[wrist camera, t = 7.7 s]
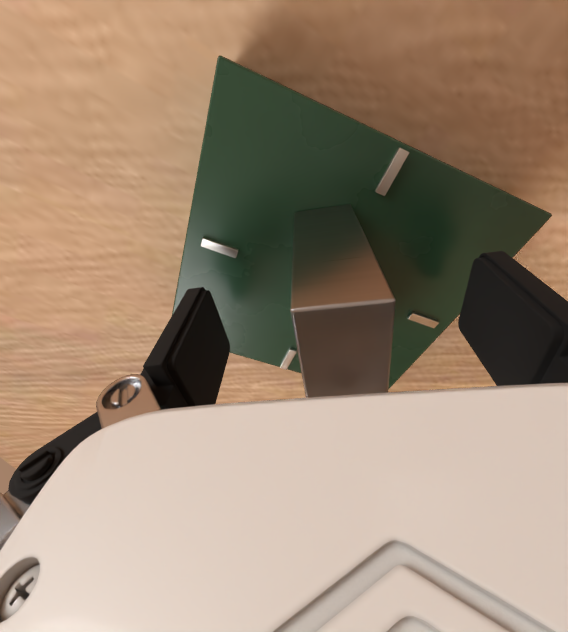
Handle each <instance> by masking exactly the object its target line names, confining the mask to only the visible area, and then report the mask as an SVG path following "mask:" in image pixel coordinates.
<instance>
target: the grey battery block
mask: <svg viewBox="0 0 568 632" xmlns="http://www.w3.org/2000/svg"><path fill="white" fill-rule="evenodd" d="M395 301H396V300H395V298H394V296H393V294H392V291H391V289H390V287H389V285H388V283H387V281H386V279H385V277H384V274H383V272H382V270H381V268H380V266H379V264H378V262H377V260H376V257H375V255H374V253H373V251H372V249H371V247H370V245H369V242H368V240H367V238H366V236H365V234H364V232H363V230H362V228H361V225H360V223H359V221H358V219H357V217H356V215H355V213H354V211H353V208H352V206H351V204H346V205H339V206H333V207H326V208H319V209H312V210H306V211H299V212H295V214H294V236H293V260H292V285H291V309H290V311H291V317H292V323H293V328H294V334H295V339H296V345H297V350H298V356H299V361H300V367H301V372H302V378H303V384H304V389H305V395H306V398H310V397H325V396H341V395H356V394H372V393H388V386H389V373H390V361H391V349H392V337H393V325H394V313H395Z"/></svg>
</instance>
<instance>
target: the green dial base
mask: <svg viewBox="0 0 568 632" xmlns="http://www.w3.org/2000/svg"><path fill="white" fill-rule="evenodd" d="M346 204H351V206H352V208H353V211H354V213H355V215H356V217H357V219H358V221H359V223H360V225H361V228H362V230H363V232H364V234H365V236H366V238H367V240H368V242H369V245H370V247H371V249H372V251H373V253H374V255H375V257H376V260H377V262H378V264H379V266H380V268H381V270H382V272H383V274H384V277H385V279H386V281H387V283H388V285H389V287H390V289H391V291H392V294H393V296H394V298H395V300H396V301H395V313H394V325H393V337H392V349H391V361H390V373H389V386H388V389H389V388H390V387H391V386H392V385H393V384H394V383H395V382H396V381H397V380H398V379H399V378H400V377H401V376H402V374H403V373H404V372H405V371H406V370H407V369H408V368H409V367H410V366H411V365H412V364H413V363H414V362H415V361H416V360H417V359H418V358H419V356H420V355H421V354H422V353H423V352H424V351H425V350H426V349H427V348H428V347H429V346H430V345H431V344H432V343H433V342H434V341H435V339H436V338H437V337H438V336H439V335H440V334H441V333H442V332H443V331H444V330H445V329H446V328H447V327H448V326H449V325H450V324H451V322H452V321H453V320H454V319H455V318H456V317H457V316H458V315H459V314H460V313H461V309H462V305H463V301H464V297H465V293H466V289H467V284H468V280H469V276H470V272H471V268H472V264H473V261H474V260H475V259H476V258H479V256H480V255H481V254H482V253H488V252H496V251H503V252H505V253H506V254H508V255H509V256H510V257H512V258H513V257H514V256H515V255H516V253H517V252H518V251H519V250H520V249H521V248H522V247H523V246H524V245H525V244H526V243H527V242H528V241H529V240H530V239H531V238H532V236H533V235H534V234H535V233H536V232H537V231H538V230H539V229H540V228H541V227H542V226H543V225H544V224H545V223H546V222H547V221H548V220H549V218H550V217H551V216H552V215H551V213H549V212H547V211H544V210H542V209H540V208H538V207H536V206H534V205H532V204H530V203H528V202H526V201H524V200H522V199H519V198H517V197H515V196H513V195H511V194H509V193H507V192H505V191H503V190H501V189H499V188H496V187H494V186H492V185H490V184H488V183H486V182H484V181H482V180H480V179H478V178H476V177H473V176H471V175H469V174H467V173H465V172H463V171H461V170H459V169H457V168H455V167H453V166H451V165H448V164H446V163H444V162H442V161H440V160H438V159H436V158H434V157H432V156H430V155H428V154H425V153H423V152H421V151H419V150H417V149H415V148H413V147H411V146H409V145H407V144H405V143H402V142H400V141H398V140H396V139H394V138H392V137H390V136H388V135H386V134H384V133H382V132H380V131H377V130H375V129H373V128H371V127H369V126H367V125H365V124H363V123H361V122H359V121H357V120H354V119H352V118H350V117H348V116H346V115H344V114H342V113H340V112H338V111H336V110H334V109H331V108H329V107H327V106H325V105H323V104H321V103H319V102H317V101H315V100H313V99H311V98H308V97H306V96H304V95H302V94H300V93H298V92H296V91H294V90H292V89H290V88H288V87H286V86H283V85H281V84H279V83H277V82H275V81H273V80H271V79H269V78H267V77H265V76H263V75H260V74H258V73H256V72H254V71H252V70H250V69H248V68H246V67H244V66H242V65H240V64H237V63H235V62H233V61H231V60H229V59H227V58H225V57H223V56H219V57H218V59H217V65H216V71H215V76H214V82H213V88H212V93H211V99H210V104H209V110H208V116H207V121H206V127H205V133H204V138H203V144H202V149H201V155H200V161H199V166H198V172H197V178H196V183H195V189H194V194H193V200H192V206H191V211H190V217H189V223H188V228H187V234H186V240H185V245H184V251H183V256H182V262H181V268H180V273H179V279H178V285H177V290H176V296H175V301H174V307H173V313H172V315H173V314H174V312H175V310H176V308H177V307H178V305H179V303H180V301H181V300H182V298H183V296H184V294H185V293H186V291H187V290H188V289H191V288H199V287H204V288H205V289H206V290H209V291H210V292H211V294H212V297H213V300H214V302H215V305H216V308H217V310H218V313H219V316H220V318H221V321H222V324H223V326H224V329H225V332H226V334H227V337H228V340H229V343H230V353H233V354H237V355H240V356H244V357H247V358H251V359H254V360H258V361H261V362H264V363H268V364H271V365H275V366H278V367H280V368H283V369H286V370H287V369H288V370H292V371H295V372H299V373H302V372H301V367H300V361H299V356H298V350H297V345H296V339H295V334H294V328H293V323H292V317H291V311H290V309H291V285H292V260H293V236H294V214H295V212H299V211H306V210H312V209H319V208H326V207H333V206H339V205H346Z"/></svg>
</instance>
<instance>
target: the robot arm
mask: <svg viewBox="0 0 568 632" xmlns="http://www.w3.org/2000/svg"><path fill="white" fill-rule="evenodd" d="M458 324H459V329H460V331H461V333H462V334H463V335H464V337H465V338H466V340H467V341H468V343H469V344H470V346H471V347H472V349H473V350H474V352H475V353H476V355H477V356H478V358H479V359H480V361H481V362H482V364H483V365H484V367H485V368H486V370H487V371H488V373H489V374H490V376H491V377H492V379H493V380H494V382H495V383H496V385H497V386H488V387H471V388H454V389H437V390H420V391H404V392H388V393H372V394H356V395H341V396H325V397H310V398H296V399H281V400H267V401H252V402H238V403H225V404H215V403H216V399H217V396H218V392H219V388H220V385H221V381H222V378H223V374H224V370H225V367H226V363H227V359H228V356H229V352H230V343H229V340H228V337H227V334H226V332H225V329H224V326H223V324H222V321H221V318H220V316H219V313H218V310H217V308H216V305H215V302H214V300H213V297H212V294H211V292H210V291H209V290H206V289H205V288H204V287H199V288H191V289H188V290H187V291H186V293H185V294H184V296H183V298H182V300H181V301H180V303H179V305H178V307H177V308H176V310H175V312H174V314H173V315H172V317H171V319H170V320H169V322H168V324H167V326H166V327H165V329H164V331H163V333H162V334H161V336H160V338H159V339H158V341H157V343H156V345H155V346H154V348H153V350H152V352H151V353H150V355H149V357H148V359H147V360H146V362H145V364H144V365H143V367H144V369H143V371H142V373H141V374H140V375H139V374H131V375H127V376H124V377H121V378H119V379H117V380H115V381H114V382H112V383H111V384H109V385H108V386H107V387H106V388H105V389H104V390H103V391H102V393H101V394H100V395H99V397H98V400H97V402H96V408H97V412H96V413H95V414H93V415H91V416H90V417H88V418H87V419H85V420H84V421H82V422H80V423H79V424H77V425H76V426H74V427H73V428H71V429H69V430H68V431H66V432H65V433H63V434H62V435H60V436H58V437H57V438H55V439H54V440H52V441H51V442H49V443H47V444H46V445H44V446H43V447H41V448H40V449H38V450H37V451H35V452H34V453H32V454H31V455H30V456H28V457H27V458H26V459H25V460H24V461H23V462H22V463H21V464H20V465H19V467H18V468H17V469H16V471H15V472H14V474H13V476H12V478H11V480H10V483H9V490H8V491H7V492H6V493H5V494H2V493H0V632H568V301H566V300H565V299H564V298H563V297H561V296H560V295H559V294H557V293H556V292H555V291H554V290H552V289H551V288H550V287H549V286H547V285H546V284H545V283H543V282H542V281H541V280H540V279H538V278H537V277H536V276H534V275H533V274H532V273H531V272H529V271H528V270H527V269H526V268H524V267H523V266H522V265H520V264H519V263H518V262H517V261H515V260H514V259H513V258H512V257H510V256H509V255H508V254H506V253H505V252H503V251H496V252H488V253H482V254H481V255H480V256H479V258H476V259H475V260H474V261H473V264H472V268H471V272H470V276H469V280H468V284H467V289H466V293H465V297H464V301H463V305H462V309H461V313H460V317H459V322H458Z"/></svg>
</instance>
